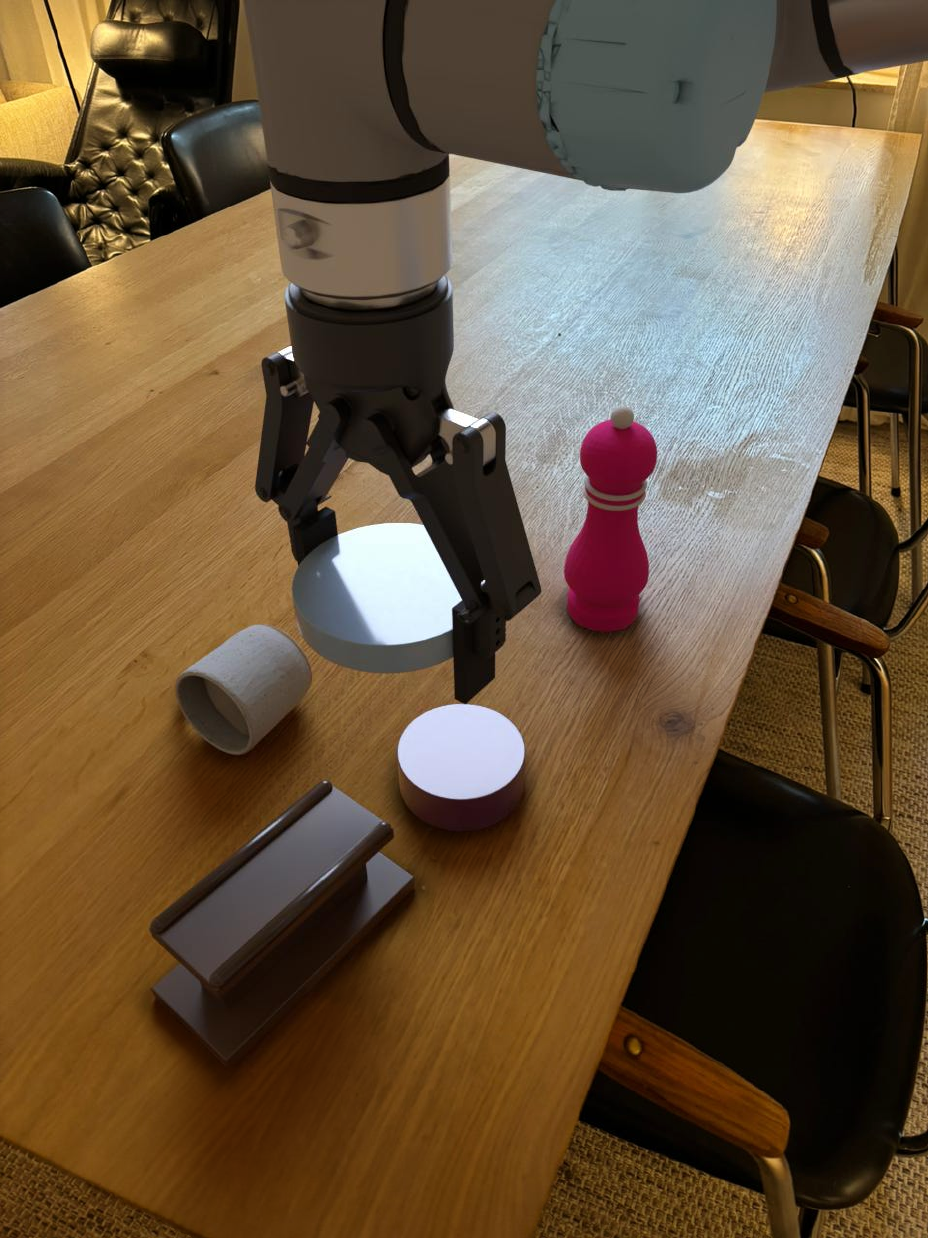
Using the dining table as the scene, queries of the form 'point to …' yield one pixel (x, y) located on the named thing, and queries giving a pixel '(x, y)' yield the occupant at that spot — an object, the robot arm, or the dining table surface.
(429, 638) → the side plate
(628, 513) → the pepper mill
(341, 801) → the plate rack
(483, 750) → the plum stand
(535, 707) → the dining table surface
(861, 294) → the dining table surface
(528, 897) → the dining table surface
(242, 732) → the ceramic mug
